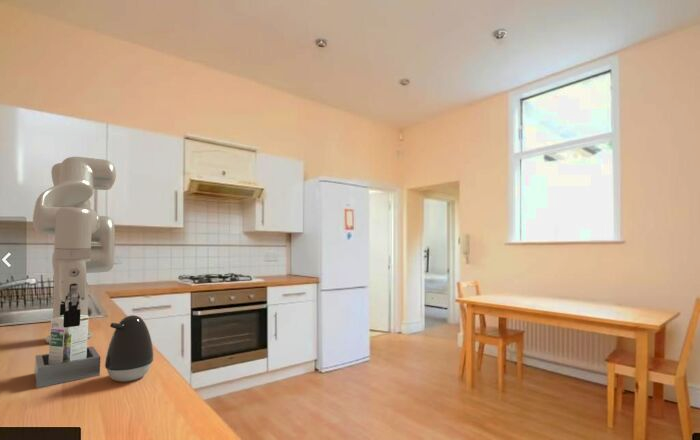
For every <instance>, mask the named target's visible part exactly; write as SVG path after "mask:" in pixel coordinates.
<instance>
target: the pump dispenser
mask: <svg viewBox="0 0 700 440" xmlns="http://www.w3.org/2000/svg"><path fill="white" fill-rule="evenodd" d="M110 328H113V329H115V330H114V331H113V334H112V336H111V338H110V342H109V344H108V347H107V352H106V355H105V362H104V363H105V364H104V367H105V369H106V371H107V374H108V376H109V377H110V378H111V379H112V380H113V381H116V382H120V383H121V382H123V383H125V382H126V383H127V382H132V381H136V380H139V379H140V378H142V377H144V376H145V375H147V373H148V372H149V371H150V368H151V367H152V363H153V362H154V348H153V341H152V337H151V334H150V330H149V329H148V327H147V324H146V322H145V321H144V319H143V318H142V317H141V316H138V315H131V314H130V315H127V316H126V317H124V318H122V319H121V320H120V321H119V323H118V322H117V323H116V322H111V323H110Z"/></svg>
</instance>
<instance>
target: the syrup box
mask: <svg viewBox="0 0 700 440" xmlns="http://www.w3.org/2000/svg"><path fill="white" fill-rule="evenodd" d="M89 317H90V316H89V314H88V315H80V325H79V326H74V327H66V328H65V327H64V326H63V323H64V315H61V316H57V317H54V318H53V317H51V319H50V328H49V329H50V330H49V331H50V332H49V336H50V343H49V346H48V354H49V361H48V365H50V364H56V363H61V362H67V361H73V360H78V359H84V358H86V355H87V347H88V339H87V336H88V331H89Z"/></svg>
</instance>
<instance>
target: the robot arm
mask: <svg viewBox="0 0 700 440" xmlns="http://www.w3.org/2000/svg"><path fill="white" fill-rule="evenodd" d="M116 170H117V169H116V167H115V165H114V163H112V162H111V161H110V160H107V159H103V158H102V159H101V158H92V157H86V156H85V157H84V156H70V157H66V158H65V159H63V160H62V162H58V163H55V164H54V165H52V167H51V170H50V171H51V178H52V184H53V186H51V187H49V188H47V189H46V190H44V191H43V192H41V194H39V196H38V197H37V198H36V201H35V205H34V209H33V215H32V225H33V228H34V230H35V231H36V232H37V233H39V234H41V235H51V236H53V235H54V247H53V252H52V256H51V261H52V262H51V264H52V268H53V269H52V271H53V302H52V303H53V304H52V305H53V306H52V318H54V317H57V316H61V315H64V323H63V326H64V327H65V328H66V327H74V326H79V325H80V315H88V316H89V293H90V290H89V287H90V286H89V284H88V282H87V274H95V273H98V274H99V273H106V272H110V271H111V270H113V268H114V265H115V246H116V244H115V243H116V241H115V240H116V236H115V235H116V234H115V233H116V231H115V230H116V229H115V227H116V226H115V222H114V220H113V219H112V218H111V217H110V216H105V215H99V214H98V213H97V211H96V210H94V209H92V208H91V206H92V203H91V200H90V199H91V197H92V196H93V195H94V190H98V191H99V190H101V191H109V190H110V189H112V188H113V185H115V182H116V178H117V171H116ZM92 243H98V245H92ZM92 336H93V332H92V331H91V330H88V336H87V340H88V339H90V338H91V337H92ZM44 341H45V343H46V344H50V335H48V336H47V337H45V340H44Z"/></svg>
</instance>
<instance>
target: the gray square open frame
mask: <svg viewBox="0 0 700 440" xmlns="http://www.w3.org/2000/svg"><path fill="white" fill-rule="evenodd" d="M48 361H49V353H42V354H37V355H35V362H34V378H35V386H36V389H38V388H43V387H44V388H45V387H48V386H49V387H50V386H53V385H58V384H63V383H68V382H73V381H78V380H82V379H88V378H92V377H96V376H97V377H99V376H100V375H101V356H100V354H99V353H98V351H97V350H96V348H95V347H94V346H87V355H86V358H84V359H78V360H73V361H67V362H61V363H56V364H50V365H48Z"/></svg>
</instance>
